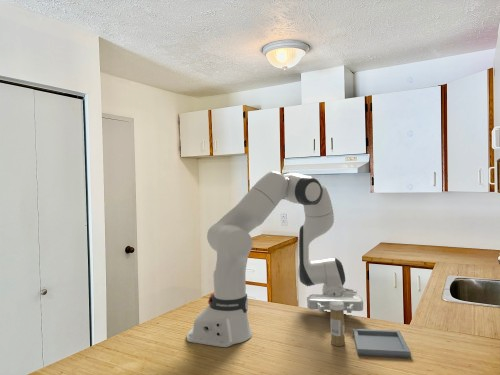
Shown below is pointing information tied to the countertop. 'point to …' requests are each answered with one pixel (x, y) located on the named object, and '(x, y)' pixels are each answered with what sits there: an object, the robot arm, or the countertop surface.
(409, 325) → the countertop surface
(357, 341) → the tray
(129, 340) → the countertop surface
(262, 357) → the countertop surface
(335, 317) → the sprinkles bottle
